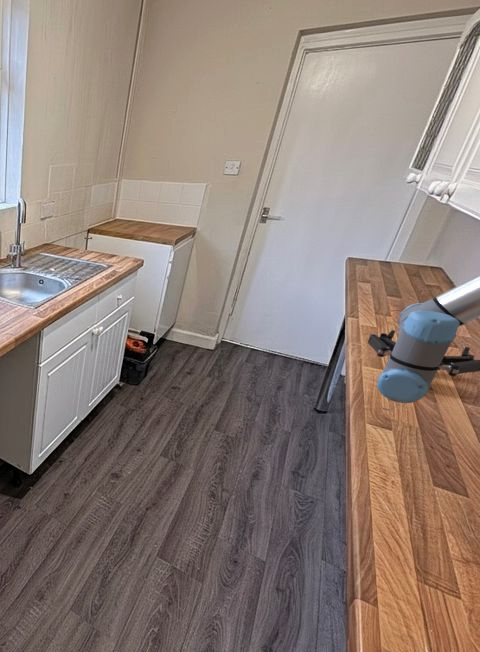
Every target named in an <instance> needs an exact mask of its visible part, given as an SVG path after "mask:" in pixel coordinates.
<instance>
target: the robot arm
mask: <svg viewBox="0 0 480 652" xmlns="http://www.w3.org/2000/svg"><path fill="white" fill-rule="evenodd" d="M479 318H480V274H479V275H476V276H475V277H473V278H471V279H468V280H467V281H465V282H463V283H461V284H459V285H457V286H455V287H452V288H451V289H449V290H446V291H445V292H443V293H441V294H439V295H437V296H435V297H433V298H431V299H429V300H427V301H425V302H417V303H413V304H410V305H408V306H407V307H405V308H404V309H403V310H402V312H401V313H400V314H399V316H398V321H397V324H398V337H397V339H396V341H394V340H393V338H394V335H395V333H396V330H394V329H391V330H390V332H389V333H388V334H387V333H384V332H381V333H380V335H379V336H378V335H377V334H374V333H371V334H370V335H369V338H368V340H367V344H368V345H369V346H370V347H371V348H372V349H373V350H374V351H375V352H376V356H377V357H379V358H384V357H387V356H388V359H387V361H386V364H385V366H384V368H383V370H382V372H381V373H380V374H379V376H378V379H377V383H376V387H377V389H378V392H379V393H380V394H381V396H383V397H384V398H386V399H388V401H392V402H395V403H398V404H412V403H416V402H418V401H420V400H421V399H423V398H424V396H425V397H426V395H427V394H428V391H429V389H430V386H431V384H432V382H433V381H434V379H435V377H436V375H435V374H437V372H438V371H441V370H443V371H445V372H446V373H448V376H451V377H456V376H457V375H461V374H469V373H475V372H480V359H475V355H473V354H470V353H469V351H470V349H471V347H468V346H465V347H464V349H463V351H462V353H461V355H446V354H447V353H448V350H449V348H450V346H451V344H452V343H453V340H455V338H456V337H457V332H458V330H459V327H461V326H464V325H465V324H467V323H469V322H472V321H474V320H477V319H479ZM434 376H435V377H434Z"/></svg>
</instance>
